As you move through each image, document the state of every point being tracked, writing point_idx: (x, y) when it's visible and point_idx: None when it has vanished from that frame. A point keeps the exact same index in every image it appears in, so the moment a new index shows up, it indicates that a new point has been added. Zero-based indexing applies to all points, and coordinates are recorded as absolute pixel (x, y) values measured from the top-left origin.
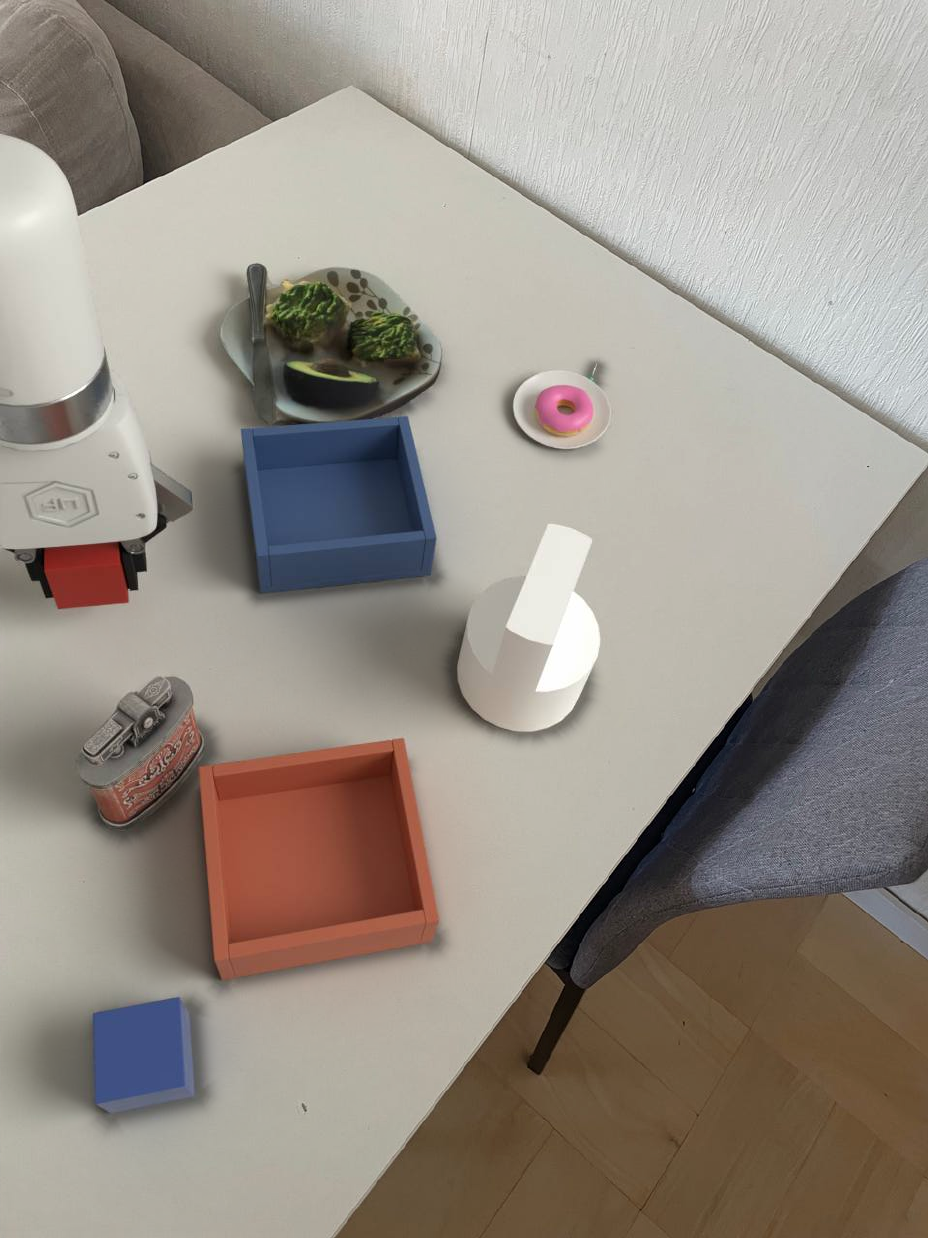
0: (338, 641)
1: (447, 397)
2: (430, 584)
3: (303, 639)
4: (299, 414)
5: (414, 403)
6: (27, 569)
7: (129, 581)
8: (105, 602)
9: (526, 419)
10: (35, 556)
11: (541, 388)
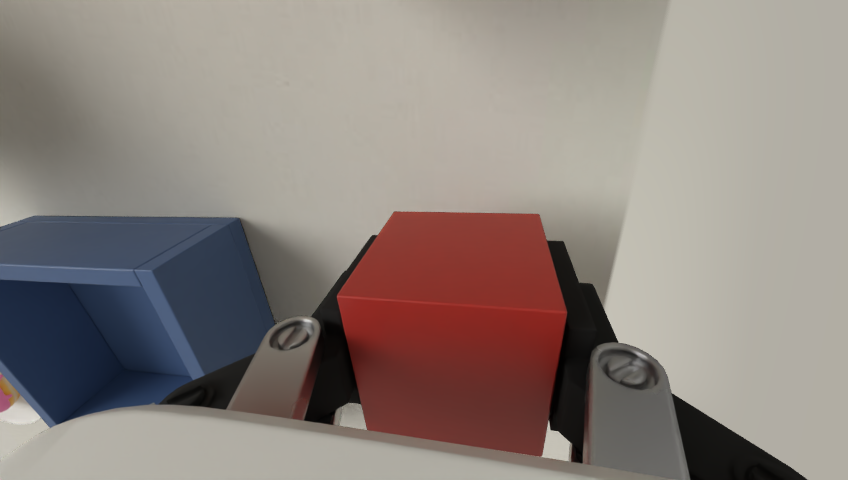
0: (108, 119)
1: None
2: (29, 202)
3: (158, 129)
4: None
5: None
6: (605, 316)
7: None
8: (437, 215)
9: None
10: (590, 364)
11: (28, 408)
